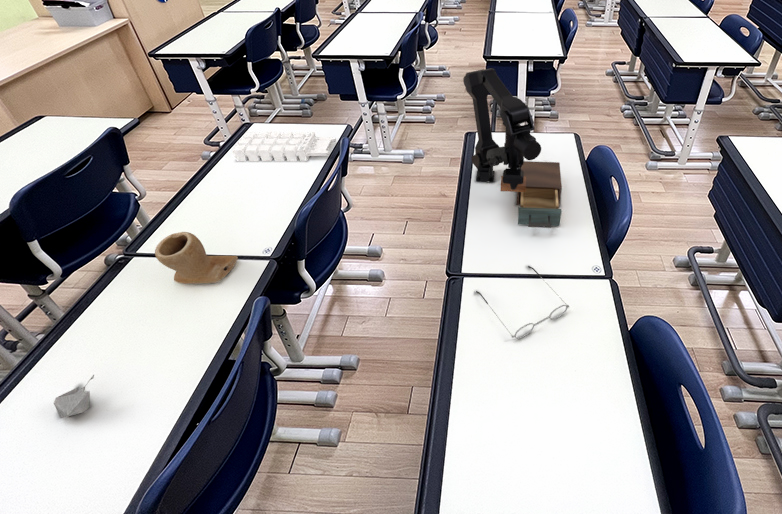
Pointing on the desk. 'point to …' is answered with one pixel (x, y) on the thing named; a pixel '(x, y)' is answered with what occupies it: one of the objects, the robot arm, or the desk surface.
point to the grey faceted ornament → (72, 402)
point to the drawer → (539, 208)
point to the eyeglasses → (537, 322)
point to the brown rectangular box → (518, 189)
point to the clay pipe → (192, 259)
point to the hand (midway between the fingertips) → (513, 184)
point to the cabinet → (542, 176)
